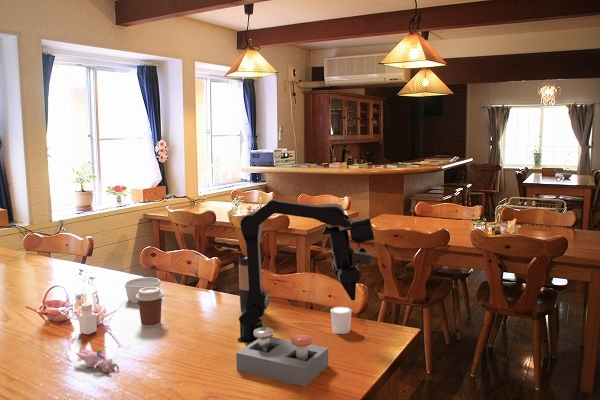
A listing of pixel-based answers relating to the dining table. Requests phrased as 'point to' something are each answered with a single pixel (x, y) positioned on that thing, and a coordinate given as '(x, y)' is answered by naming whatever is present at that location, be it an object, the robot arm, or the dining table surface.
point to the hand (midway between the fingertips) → (351, 295)
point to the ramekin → (139, 286)
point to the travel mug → (243, 281)
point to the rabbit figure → (97, 360)
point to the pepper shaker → (87, 319)
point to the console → (282, 362)
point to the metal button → (263, 338)
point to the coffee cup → (150, 306)
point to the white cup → (341, 319)
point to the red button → (301, 346)
